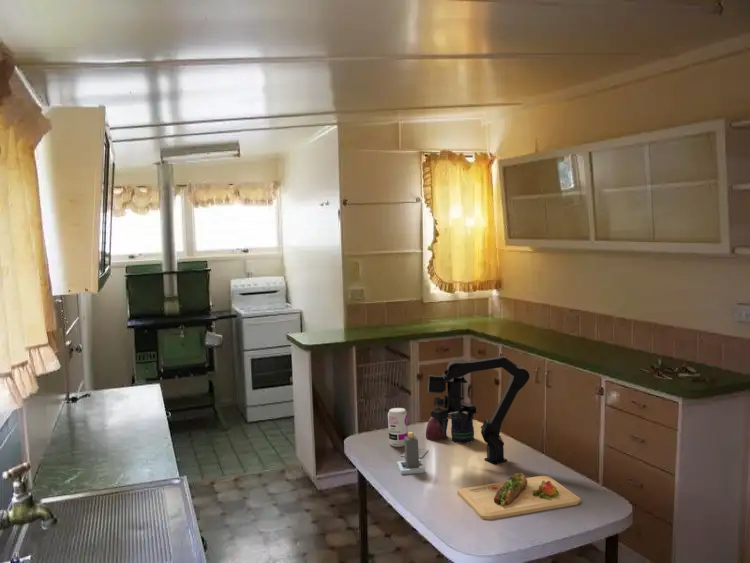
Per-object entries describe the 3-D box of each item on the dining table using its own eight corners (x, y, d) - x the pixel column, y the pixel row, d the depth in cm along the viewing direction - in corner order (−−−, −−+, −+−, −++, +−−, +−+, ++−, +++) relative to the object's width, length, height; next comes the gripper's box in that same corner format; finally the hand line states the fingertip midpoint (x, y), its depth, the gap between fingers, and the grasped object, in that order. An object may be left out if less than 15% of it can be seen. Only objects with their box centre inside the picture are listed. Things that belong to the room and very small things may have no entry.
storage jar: (464, 445, 274) (462, 410, 273) (446, 440, 282) (445, 406, 280) (479, 438, 281) (477, 404, 280) (461, 434, 288) (460, 401, 287)
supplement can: (408, 440, 283) (407, 407, 282) (407, 447, 275) (406, 412, 274) (390, 441, 284) (388, 407, 283) (388, 447, 276) (386, 412, 275)
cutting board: (547, 479, 235) (546, 459, 234) (583, 505, 212) (582, 482, 212) (455, 494, 226) (454, 473, 226) (483, 522, 204) (482, 499, 203)
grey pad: (428, 450, 270) (428, 450, 270) (421, 458, 261) (421, 457, 261) (407, 449, 273) (407, 448, 273) (400, 456, 265) (400, 455, 265)
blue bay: (420, 463, 256) (420, 459, 256) (425, 472, 246) (425, 468, 246) (397, 465, 255) (397, 461, 255) (401, 474, 245) (401, 470, 245)
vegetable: (447, 446, 283) (450, 418, 278) (425, 444, 283) (428, 417, 278) (445, 434, 292) (448, 407, 287) (424, 432, 292) (427, 405, 287)
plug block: (417, 465, 253) (415, 430, 252) (419, 470, 249) (417, 434, 248) (405, 467, 253) (403, 431, 252) (407, 471, 248) (405, 435, 247)
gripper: (459, 386, 265) (458, 423, 266) (422, 391, 254) (421, 431, 256) (477, 392, 255) (476, 431, 257) (440, 398, 245) (439, 438, 246)
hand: (453, 432), depth 254 cm, fingers open, 9 cm apart
